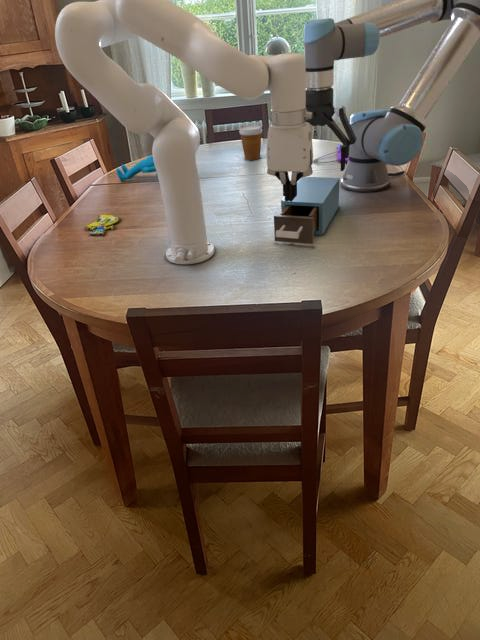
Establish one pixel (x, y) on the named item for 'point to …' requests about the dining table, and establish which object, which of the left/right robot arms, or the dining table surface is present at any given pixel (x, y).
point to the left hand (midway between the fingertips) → (290, 199)
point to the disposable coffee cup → (251, 141)
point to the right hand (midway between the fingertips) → (319, 169)
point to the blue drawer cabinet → (317, 198)
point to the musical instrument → (332, 153)
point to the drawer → (296, 224)
